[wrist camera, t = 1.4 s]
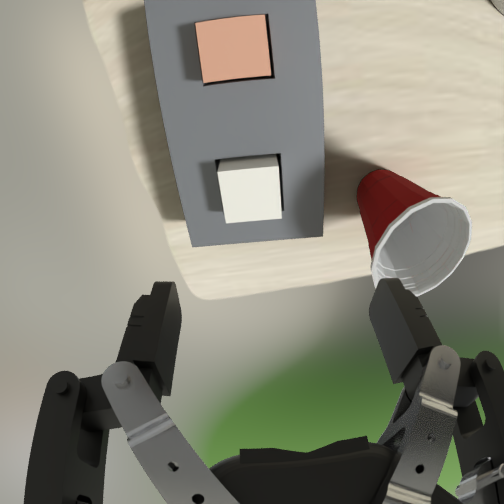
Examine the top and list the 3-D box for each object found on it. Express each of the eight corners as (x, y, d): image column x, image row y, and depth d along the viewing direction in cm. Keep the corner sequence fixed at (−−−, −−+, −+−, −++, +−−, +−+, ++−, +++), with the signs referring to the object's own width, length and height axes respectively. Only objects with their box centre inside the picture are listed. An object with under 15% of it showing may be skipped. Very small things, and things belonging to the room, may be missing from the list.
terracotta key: (262, 21, 18) (264, 14, 15) (268, 73, 21) (271, 75, 18) (203, 28, 19) (195, 23, 15) (210, 79, 22) (203, 82, 18)
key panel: (302, -9, 18) (312, -21, 14) (313, 211, 33) (322, 236, 29) (161, 8, 19) (144, 0, 15) (199, 221, 34) (192, 247, 30)
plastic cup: (401, 236, 35) (442, 303, 25) (325, 225, 34) (352, 300, 24) (432, 160, 28) (493, 213, 19) (351, 137, 27) (402, 186, 18)
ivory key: (274, 150, 26) (278, 166, 22) (278, 197, 28) (281, 218, 25) (221, 155, 26) (217, 172, 23) (228, 201, 29) (225, 223, 26)
